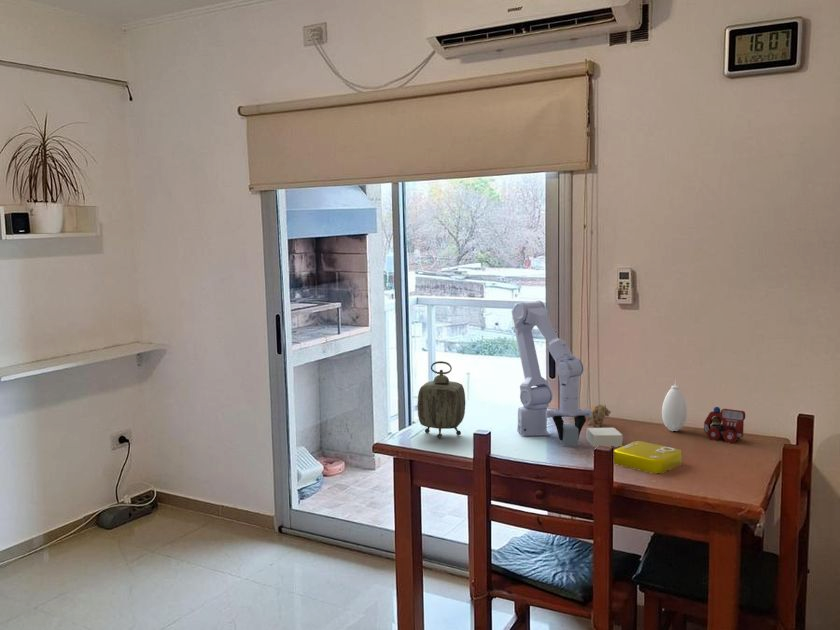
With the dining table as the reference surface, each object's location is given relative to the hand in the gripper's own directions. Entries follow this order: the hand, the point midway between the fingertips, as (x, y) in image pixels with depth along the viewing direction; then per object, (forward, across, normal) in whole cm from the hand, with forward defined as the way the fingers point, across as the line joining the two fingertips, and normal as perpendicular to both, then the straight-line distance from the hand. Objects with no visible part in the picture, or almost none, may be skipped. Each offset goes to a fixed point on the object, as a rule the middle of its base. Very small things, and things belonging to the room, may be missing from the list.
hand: (568, 439), depth 231 cm
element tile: (+2, +17, -21) cm, 28 cm away
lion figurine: (+2, +16, +19) cm, 25 cm away
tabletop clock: (+2, -40, +11) cm, 41 cm away
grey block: (+1, 0, 0) cm, 1 cm away
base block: (+2, +12, 0) cm, 12 cm away
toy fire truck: (+2, +52, +1) cm, 52 cm away
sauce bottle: (+2, +40, +12) cm, 41 cm away
